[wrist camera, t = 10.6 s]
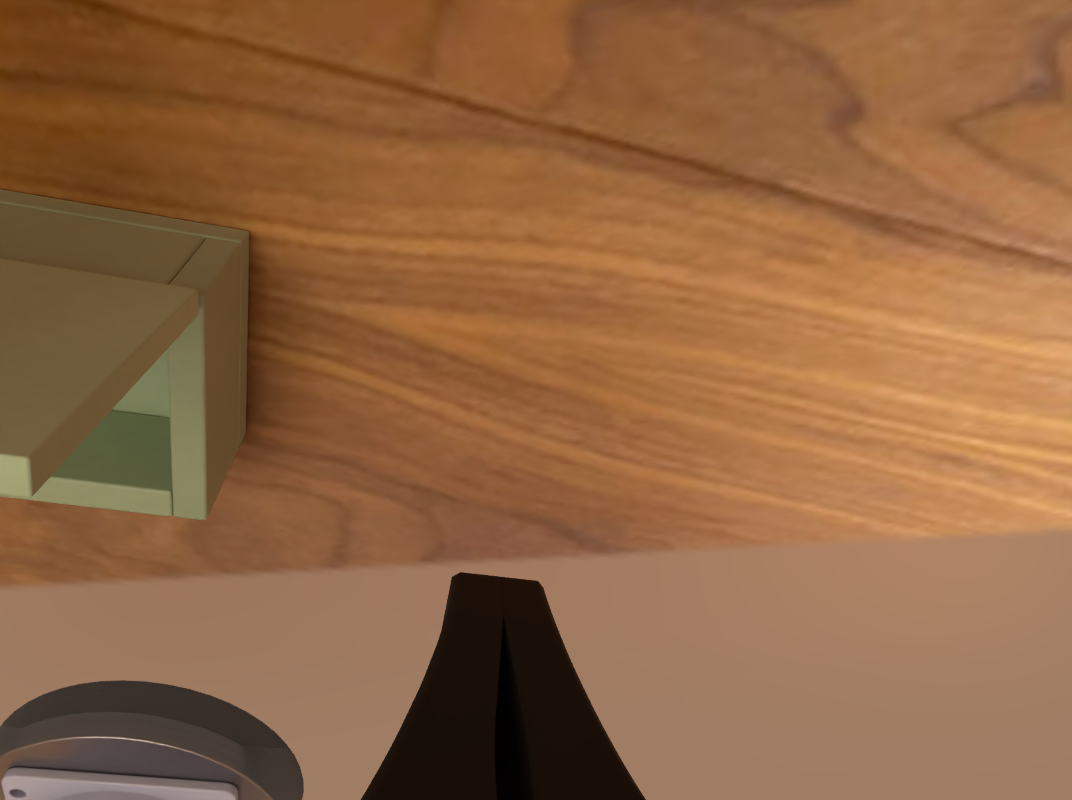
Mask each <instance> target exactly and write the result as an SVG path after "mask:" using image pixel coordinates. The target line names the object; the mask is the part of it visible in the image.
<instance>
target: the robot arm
mask: <svg viewBox="0 0 1072 800" xmlns="http://www.w3.org/2000/svg"><path fill="white" fill-rule="evenodd" d="M1 784H2V788H3V792H4V797H5V800H238V789H237V788H236V787H235V786H234V785H232V784H230V783H225V782H213V781H199V780H186V779H172V778H159V777H145V776H132V775H118V774H105V773H91V772H78V771H64V770H51V769H37V768H24V767H14V768H11V769H9V770H8V771H6V773H5V775H4V777H3V778H2V782H1ZM361 800H646V799H645V798H644V796H643V795H642V793H641V792H640V790H639V788H638V787H637V785H636V784H635V782H634V780H633V779H632V777H631V775H630V774H629V772H628V771H627V769H626V767H625V766H624V764H623V762H622V760H621V758H620V757H619V755H618V753H617V751H616V750H615V748H614V746H613V744H612V742H611V741H610V739H609V737H608V735H607V733H606V731H605V730H604V728H603V726H602V724H601V722H600V720H599V718H598V716H597V714H596V712H595V711H594V709H593V707H592V705H591V702H590V700H589V698H588V696H587V694H586V692H585V690H584V688H583V686H582V684H581V682H580V679H579V677H578V675H577V673H576V671H575V669H574V667H573V664H572V662H571V660H570V658H569V655H568V653H567V651H566V648H565V646H564V643H563V641H562V638H561V636H560V634H559V631H558V629H557V626H556V623H555V621H554V618H553V615H552V613H551V610H550V607H549V604H548V601H547V598H546V595H545V592H544V588H543V587H542V585H541V584H540V583H539V582H538V581H533V580H524V579H515V578H506V577H497V576H488V575H480V574H471V573H462V572H460V573H458V574H457V575H455V576H453V577H452V580H451V585H450V590H449V595H448V600H447V605H446V610H445V615H444V620H443V626H442V630H441V634H440V637H439V640H438V643H437V646H436V648H435V651H434V654H433V656H432V659H431V661H430V664H429V666H428V669H427V671H426V674H425V677H424V679H423V681H422V684H421V686H420V688H419V690H418V693H417V695H416V697H415V699H414V701H413V703H412V705H411V708H410V709H409V712H408V714H407V716H406V718H405V720H404V722H403V724H402V726H401V728H400V731H399V732H398V734H397V736H396V738H395V740H394V742H393V744H392V746H391V748H390V750H389V751H388V753H387V755H386V757H385V759H384V761H383V762H382V764H381V766H380V768H379V770H378V771H377V773H376V775H375V777H374V778H373V780H372V782H371V784H370V785H369V787H368V789H367V790H366V792H365V794H364V795H363V797H362V799H361Z"/></svg>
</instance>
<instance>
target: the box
mask: <svg viewBox="0 0 1072 800" xmlns="http://www.w3.org/2000/svg"><path fill="white" fill-rule="evenodd" d="M0 258H1V259H7V260H14V261H20V262H26V263H33V264H39V265H46V266H52V267H58V268H65V269H71V270H77V271H84V272H90V273H97V274H103V275H109V276H116V277H122V278H128V279H135V280H141V281H148V282H154V283H160V284H167V285H173V286H179V287H186V288H192V289H197V290H198V315H197V317H196V318H195V319H194V320H193V322H192V323H191V324H190V325H189V326H188V327H187V328H186V329H185V330H184V331H183V332H182V334H181V335H180V336H179V337H178V338H177V339H176V340H175V341H174V342H173V343H172V344H171V346H170V347H169V348H168V349H167V350H166V351H165V352H164V353H163V354H162V355H161V356H160V358H159V359H158V360H157V361H156V362H155V363H154V364H153V365H152V366H151V367H150V369H149V370H148V371H147V372H146V373H145V374H144V375H143V376H142V377H141V378H140V379H139V381H138V382H137V383H136V384H135V385H134V386H133V387H132V388H131V389H130V390H129V391H128V393H127V394H126V395H125V396H124V397H123V398H122V399H121V400H120V401H119V402H118V403H117V405H116V406H115V407H114V408H113V409H112V410H111V411H110V412H109V413H108V414H107V416H106V417H105V418H104V419H103V420H102V421H101V422H100V423H99V424H98V425H97V426H96V428H95V429H94V430H93V431H92V432H91V433H90V434H89V435H88V436H87V437H86V438H85V440H84V441H83V442H82V443H81V444H80V445H79V446H78V447H77V448H76V449H75V450H74V452H73V453H72V454H71V455H70V456H69V457H68V458H67V459H66V460H65V461H64V463H63V464H62V465H61V466H60V467H59V468H58V469H57V470H56V471H55V472H54V473H53V475H52V476H51V477H50V478H49V479H48V480H47V481H46V482H45V483H44V484H43V485H42V487H41V488H40V489H39V490H38V491H37V492H36V493H35V494H34V495H33V496H32V497H20V496H12V495H3V494H0V497H9V498H17V499H26V500H34V501H43V502H51V503H59V504H68V505H76V506H85V507H93V508H102V509H110V510H119V511H127V512H136V513H144V514H153V515H161V516H172V515H173V514H174V516H175V517H179V518H188V519H196V520H206V519H207V517H208V515H209V513H210V511H211V509H212V506H213V504H214V502H215V500H216V498H217V495H218V493H219V491H220V489H221V487H222V484H223V482H224V480H225V478H226V476H227V473H228V471H229V469H230V467H231V465H232V462H233V460H234V458H235V456H236V453H237V451H238V448H239V446H240V444H241V442H242V440H243V438H244V436H245V433H246V391H247V338H248V284H249V232H248V231H246V230H240V229H234V228H228V227H222V226H216V225H210V224H204V223H198V222H192V221H186V220H180V219H174V218H168V217H162V216H156V215H150V214H144V213H138V212H133V211H127V210H121V209H115V208H109V207H103V206H97V205H91V204H85V203H79V202H73V201H67V200H61V199H55V198H49V197H43V196H37V195H31V194H25V193H20V192H14V191H8V190H2V189H0Z"/></svg>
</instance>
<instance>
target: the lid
mask: <svg viewBox="0 0 1072 800" xmlns="http://www.w3.org/2000/svg"><path fill="white" fill-rule="evenodd" d="M197 315H198V290H197V289H192V288H186V287H179V286H173V285H167V284H160V283H154V282H148V281H141V280H135V279H128V278H122V277H116V276H109V275H103V274H97V273H90V272H84V271H77V270H71V269H65V268H58V267H52V266H46V265H39V264H33V263H26V262H20V261H14V260H7V259H1V258H0V494H3V495H12V496H20V497H32V496H33V495H34V494H35V493H36V492H37V491H38V490H39V489H40V488H41V487H42V485H43V484H44V483H45V482H46V481H47V480H48V479H49V478H50V477H51V476H52V475H53V473H54V472H55V471H56V470H57V469H58V468H59V467H60V466H61V465H62V464H63V463H64V461H65V460H66V459H67V458H68V457H69V456H70V455H71V454H72V453H73V452H74V450H75V449H76V448H77V447H78V446H79V445H80V444H81V443H82V442H83V441H84V440H85V438H86V437H87V436H88V435H89V434H90V433H91V432H92V431H93V430H94V429H95V428H96V426H97V425H98V424H99V423H100V422H101V421H102V420H103V419H104V418H105V417H106V416H107V414H108V413H109V412H110V411H111V410H112V409H113V408H114V407H115V406H116V405H117V403H118V402H119V401H120V400H121V399H122V398H123V397H124V396H125V395H126V394H127V393H128V391H129V390H130V389H131V388H132V387H133V386H134V385H135V384H136V383H137V382H138V381H139V379H140V378H141V377H142V376H143V375H144V374H145V373H146V372H147V371H148V370H149V369H150V367H151V366H152V365H153V364H154V363H155V362H156V361H157V360H158V359H159V358H160V356H161V355H162V354H163V353H164V352H165V351H166V350H167V349H168V348H169V347H170V346H171V344H172V343H173V342H174V341H175V340H176V339H177V338H178V337H179V336H180V335H181V334H182V332H183V331H184V330H185V329H186V328H187V327H188V326H189V325H190V324H191V323H192V322H193V320H194V319H195V318H196V317H197Z"/></svg>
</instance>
